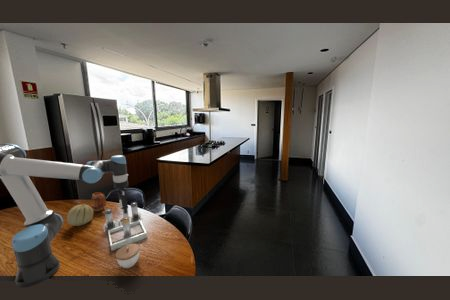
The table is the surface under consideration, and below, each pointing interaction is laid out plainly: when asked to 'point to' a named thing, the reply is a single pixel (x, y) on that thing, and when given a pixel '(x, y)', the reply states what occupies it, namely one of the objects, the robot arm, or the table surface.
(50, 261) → the robot arm
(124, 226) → the marked fuse
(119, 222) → the fuse holder
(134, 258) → the lidded jar
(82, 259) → the table surface
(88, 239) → the table surface
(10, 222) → the table surface
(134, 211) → the fuse right
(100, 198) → the mug
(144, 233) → the tray
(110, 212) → the fuse left
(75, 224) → the cantaloupe
